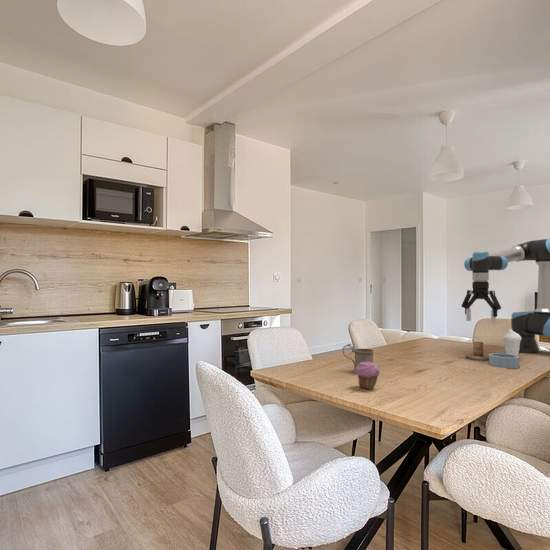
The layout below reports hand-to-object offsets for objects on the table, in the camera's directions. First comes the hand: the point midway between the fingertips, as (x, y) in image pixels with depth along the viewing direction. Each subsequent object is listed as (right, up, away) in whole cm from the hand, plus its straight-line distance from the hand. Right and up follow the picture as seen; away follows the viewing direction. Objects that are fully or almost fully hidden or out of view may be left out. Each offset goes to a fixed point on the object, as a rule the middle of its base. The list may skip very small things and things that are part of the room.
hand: (480, 322), depth 202 cm
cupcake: (-72, -19, -54) cm, 92 cm away
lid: (0, -19, +1) cm, 19 cm away
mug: (-69, -19, -27) cm, 77 cm away
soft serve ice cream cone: (+17, -20, +2) cm, 27 cm away
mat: (0, -20, +1) cm, 20 cm away
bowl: (+4, -19, -15) cm, 25 cm away
